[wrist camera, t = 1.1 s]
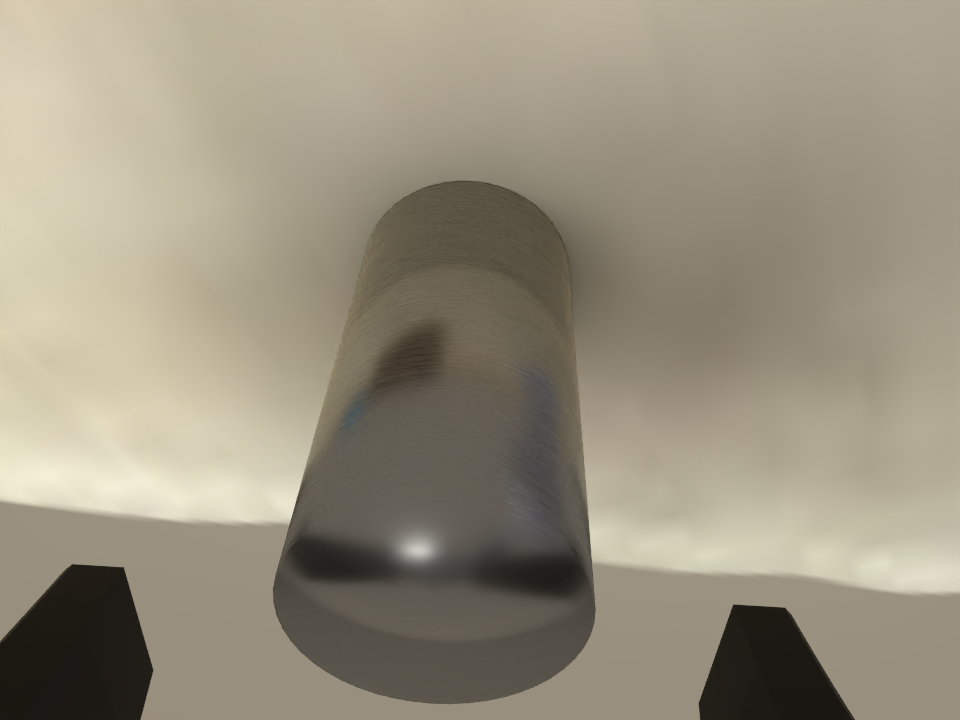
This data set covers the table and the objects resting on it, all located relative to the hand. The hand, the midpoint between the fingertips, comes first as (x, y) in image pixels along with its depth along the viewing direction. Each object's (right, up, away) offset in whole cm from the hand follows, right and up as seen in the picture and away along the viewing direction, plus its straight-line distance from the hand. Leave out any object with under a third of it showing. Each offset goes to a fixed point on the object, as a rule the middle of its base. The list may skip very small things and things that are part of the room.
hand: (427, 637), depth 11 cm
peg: (0, +5, +7) cm, 8 cm away
